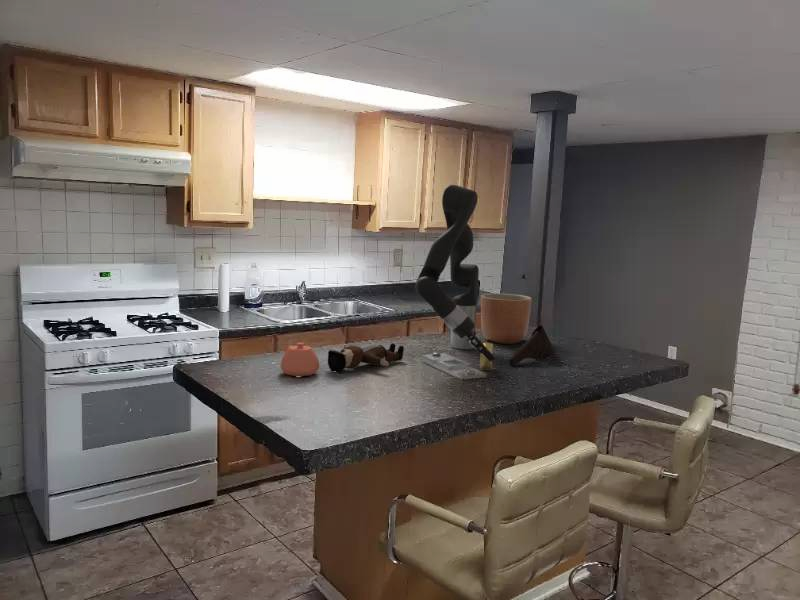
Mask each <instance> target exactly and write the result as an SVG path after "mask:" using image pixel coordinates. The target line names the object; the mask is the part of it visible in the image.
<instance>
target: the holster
mask: <svg viewBox="0 0 800 600" xmlns="http://www.w3.org/2000/svg"><path fill="white" fill-rule="evenodd" d="M555 354H556V351H555V348H554V346H553V345H552V343H551V340H550V338H549V336H548V334H547V332H546V330H545V328H544V326H543V325H542V324H540V325H539V326H537V327H536V328H535V329H534V330H533V331H532V333H531V336H530V338H529V339H528V340H526V341H525V342H524V343H523V344H522V345H521V346H520V347H519V348H518V349H517V350H516V351H515V353H514V354H513V355H512V356H511V358H510V359H508V363H509V365H510V366H511V365H512V366H511V367H515V366H516V365H517V364H518V363H520V362H522V361H523V360H525V359H532V360H537V359H538V358H539V360H542V359H543V358H542V357H544V358H547V357H549V358H551V357H550V356H554V357H555ZM541 358H542V359H541Z"/></svg>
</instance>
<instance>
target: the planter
mask: <svg viewBox="0 0 800 600" xmlns="http://www.w3.org/2000/svg"><path fill="white" fill-rule="evenodd" d="M480 298H481V299H480V321H481V323H480V324H481V331H482V333H483V336H484V337H485V338H486V339H487V340H489V341H490V342H491V343H497V344H507V345H509V344H510V345H511V344H517V343H519V342H521V341H522V340H523V339H524V338H525V337H526V335H527V334H528V329H529V323H530V315H531V309H532V308H531V306H532V297H531V296H527V295H523V294H516V293H515V294H513V293H495V292H494V293H484V294H482V295H481V297H480Z"/></svg>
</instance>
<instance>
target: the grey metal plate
mask: <svg viewBox="0 0 800 600" xmlns="http://www.w3.org/2000/svg"><path fill="white" fill-rule="evenodd" d="M421 363H423V364H426V365H427V366H431V367H432V368H435V369H437V370H439V371H441V372H444V373H446V374H448V375H450V376H452V377H454V378H456V377H457V379H459V380H461V381H463V379H464V380H471V379H472V378H473V379H480V378H481V377H483V378H486V377H487V373H485V372H484V371H482V370H481V371H480V369H479V370H478V369H476V368H474V367H473V364H472V363H470V362H468V361H465V360H463V359H460V358H459V357H455V356H453V355H450V354H448V353H446V352H443V353H441V352H438V351H433V352H432V353H429V354H422V355H421Z"/></svg>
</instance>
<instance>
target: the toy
mask: <svg viewBox="0 0 800 600" xmlns="http://www.w3.org/2000/svg"><path fill="white" fill-rule="evenodd" d="M404 350H405V347H404V346H403V345H399V346H398V349H397V351H396V344H395V343H390V345H389V347H388V348H387V349H386V348H385V346H383V345H381V344H377V345H375V344H374V345H370V346H367V347H363V348H362V347H360V346H357V345H343V347H342V348H341V350H340V351H338V350H334V349H329V350H328V353H327V365H328V368H329V369H330V371H331V372H332V371H336V372H338V373H340V374H341V373H343V371H345V369H355V368H357V367H358V366H360V364H361V363H364V364H368V365H374V366H381V367H382V366H383V367H384V366H385V367H389V366H390V363H389V362H392V361H393V362H397V361H398V362H399V361H402V360H403V356H404ZM338 373H337V374H338Z"/></svg>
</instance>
